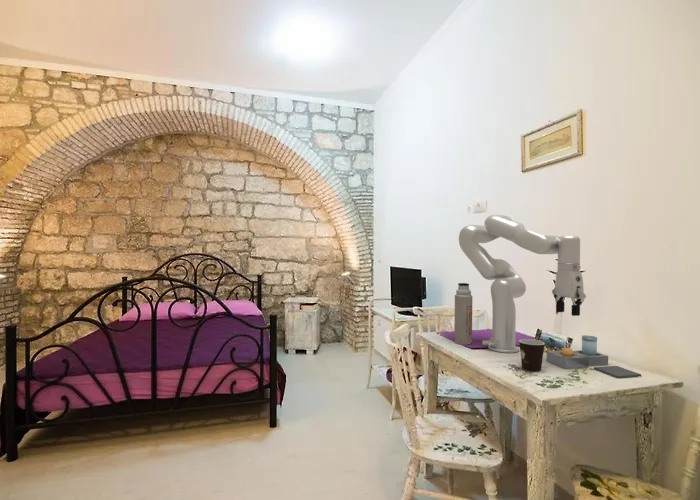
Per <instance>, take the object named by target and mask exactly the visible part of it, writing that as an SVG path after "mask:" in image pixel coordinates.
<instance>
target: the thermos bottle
mask: <svg viewBox="0 0 700 500" xmlns="http://www.w3.org/2000/svg"><path fill="white" fill-rule="evenodd" d="M457 285H458V287H457V289H456V293H455V294H454V325H453V326H454V329H453V330H454V331H453V332H454V333H453V335H454V336H453V337H454V338H453V340H454V341H453V342H454V344H456V345H463V346H464V345H465V346H466V345H468V344H469V345H471V343H472V344H473V295H472V290H470V284H469V283H466V282H460V283H458V284H457Z"/></svg>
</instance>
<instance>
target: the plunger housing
mask: <svg viewBox="0 0 700 500" xmlns="http://www.w3.org/2000/svg"><path fill="white" fill-rule="evenodd" d="M588 361H589V357H587V356H584V355H581V354H578V353H575V352H573V353H572V356H565V355H562V349H560V350H549V351H548V350H546V362H547V363H550V364H552V365H554V366H557V367H559V368H562V369H565V370H573V369H574V370H575V369H588V368H589V366H588Z"/></svg>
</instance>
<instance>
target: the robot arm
mask: <svg viewBox="0 0 700 500" xmlns="http://www.w3.org/2000/svg"><path fill="white" fill-rule="evenodd" d="M483 224H484V225H479V224H477V225H476V224H469V225H466V226H464V227H462V228H461V230H460V231H459V235H458V244H459V246H460V249H461V251H462V252H463V253H464V254H465V256H466V257H467V259H469V261H470V262H471V263H472V265H473V266H474V268H475V269H476V270H477V271H478V273H479V274H480V276H481V277H482V278H483V279H485V280H486V281H487V280H488V281H492V283H491V286H490V295H491V296H490V297H491V301H492V309H491V310H492V319H491V320H492V323H491V324H492V328H491V329H492V332H491V337H489V339H488V340H481V344H482V346H488V347H487V348H488V349H489V350H491V351H494V352H498V353H506V354H510V353H511V354H512V353H514V354H515V353H517V352H520V347H519V346H518V345H517V346H516V328H517V327H516V319H517V317H516V315H517V313H516V312H517V311H516V304H515V300H514V299H517V298H520V297H522V296H524V295H525V294H526V291H527V287H526V283H525V281H524V280H523V278H522V277H521V276H520V275H519V273H518V272H517V271H516V270H515V268H513V266H512V265H511V264H510V263H509V262H508V261H506V260H504V259H501V258H496V259H495V258H493V257H492V255H490V254H489V252H488V251H487V250H486V248H484V247H483V246H482V245H481V244H487V243H490V242H492V241H494V240H497V239H499V238H502V239H505V240H507V241H510V242H512V243H514V244H515V245H517V246H518V247H519V248H522V249H524V250H527V251H529V252H532V253H534V254H538V255H557V271H556V274H555V281H554V288H553V289H552V290H551V293H552V295H553V297H554V299H555V300H554V301H555V302H556V309H555V310H556V312H557V313H565V301H564V300H565V298H568V299H569V298H570V300H571V302H572V305H571V312H570V313H571V316H572V317H575V316H577V317H579V316H581V306H582V304H583V303H584V300H586V298H587V294H585V292H584V279H583V274H582V272H581V239H580V237H579V236H576V235H562V236H561V235H560V236H557V235H547V234H546V235H543V234H540V233H537V232H534V231H532V230H529V229H526V228H525V225H524V224H523V223H521V222H518V221H515V220H513V219H512V218H511V217H509V216H507V215H503V214H490V215H489V216H487V217H486V219H485V220H484V223H483Z"/></svg>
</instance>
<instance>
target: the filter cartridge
mask: <svg viewBox="0 0 700 500" xmlns="http://www.w3.org/2000/svg"><path fill="white" fill-rule="evenodd" d="M581 350H582V354H584V355H587V356H597V351H598V337H597V336H594V335H585V334H584V335H581Z"/></svg>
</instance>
